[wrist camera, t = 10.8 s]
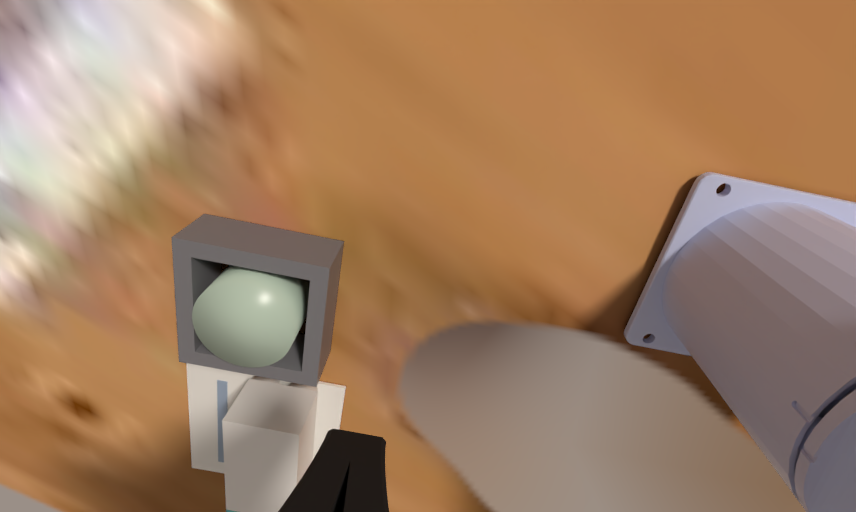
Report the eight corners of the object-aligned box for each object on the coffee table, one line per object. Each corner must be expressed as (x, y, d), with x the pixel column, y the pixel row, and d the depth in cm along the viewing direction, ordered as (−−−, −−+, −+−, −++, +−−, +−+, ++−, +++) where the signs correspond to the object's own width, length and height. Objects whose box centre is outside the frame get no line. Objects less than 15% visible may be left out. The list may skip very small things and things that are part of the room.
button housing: (343, 241, 20) (329, 268, 17) (330, 351, 22) (316, 387, 20) (204, 213, 19) (171, 237, 17) (207, 328, 22) (179, 361, 20)
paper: (346, 386, 23) (345, 389, 23) (330, 489, 27) (329, 492, 26) (187, 356, 23) (185, 359, 23) (193, 465, 26) (191, 468, 26)
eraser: (255, 369, 23) (222, 420, 20) (322, 381, 23) (299, 435, 20) (255, 476, 26) (227, 534, 23) (313, 487, 26) (292, 547, 23)
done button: (317, 258, 20) (296, 294, 17) (310, 332, 22) (290, 375, 19) (226, 240, 20) (190, 273, 17) (226, 316, 22) (193, 357, 19)
